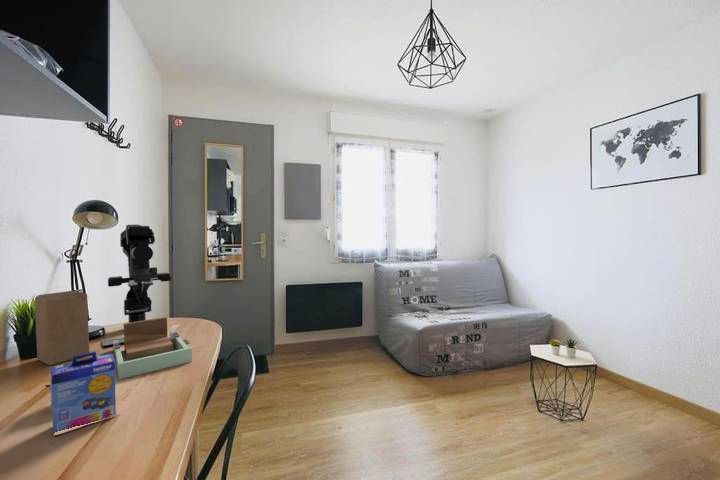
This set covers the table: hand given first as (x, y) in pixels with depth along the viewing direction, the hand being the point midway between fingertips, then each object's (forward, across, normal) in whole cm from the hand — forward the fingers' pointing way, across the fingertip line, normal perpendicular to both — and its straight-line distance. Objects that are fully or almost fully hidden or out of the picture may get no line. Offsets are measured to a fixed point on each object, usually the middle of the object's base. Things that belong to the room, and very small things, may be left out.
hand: (141, 302), depth 117 cm
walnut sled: (+13, 0, -17) cm, 22 cm away
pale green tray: (+13, 0, -22) cm, 26 cm away
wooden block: (+13, -21, -6) cm, 25 cm away
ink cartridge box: (+13, -15, -55) cm, 59 cm away
